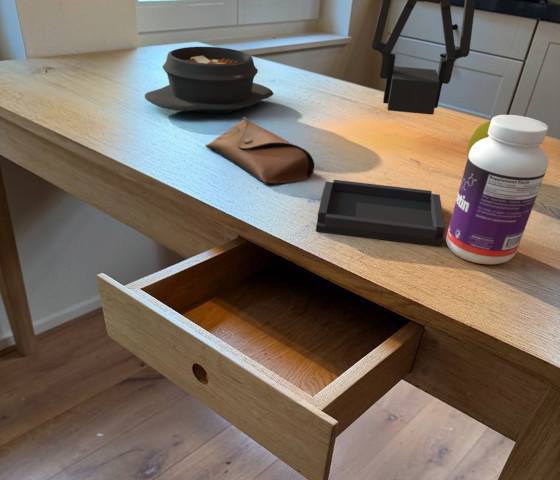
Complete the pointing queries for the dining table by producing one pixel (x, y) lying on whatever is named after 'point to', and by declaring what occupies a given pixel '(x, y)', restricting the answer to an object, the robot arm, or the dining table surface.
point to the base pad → (381, 212)
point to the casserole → (209, 81)
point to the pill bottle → (498, 190)
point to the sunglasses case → (263, 154)
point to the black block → (413, 90)
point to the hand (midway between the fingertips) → (409, 103)
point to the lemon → (479, 135)
